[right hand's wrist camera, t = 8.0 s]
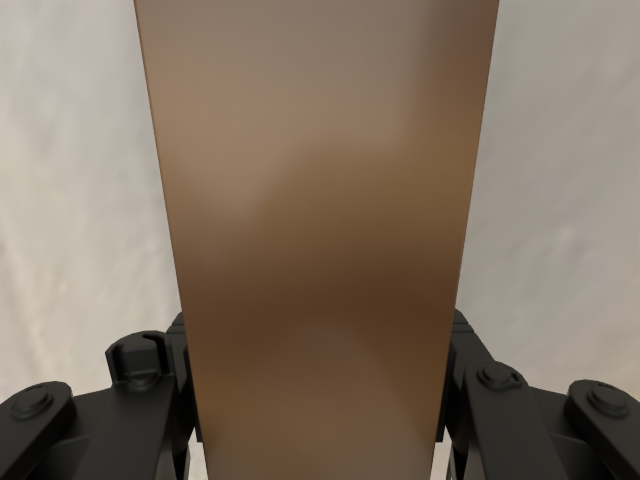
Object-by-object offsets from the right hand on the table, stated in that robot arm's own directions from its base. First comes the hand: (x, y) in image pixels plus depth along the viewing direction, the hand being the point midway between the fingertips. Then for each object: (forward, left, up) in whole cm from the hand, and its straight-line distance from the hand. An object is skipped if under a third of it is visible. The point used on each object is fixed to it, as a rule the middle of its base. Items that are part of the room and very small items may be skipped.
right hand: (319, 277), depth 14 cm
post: (+23, -10, -1) cm, 25 cm away
